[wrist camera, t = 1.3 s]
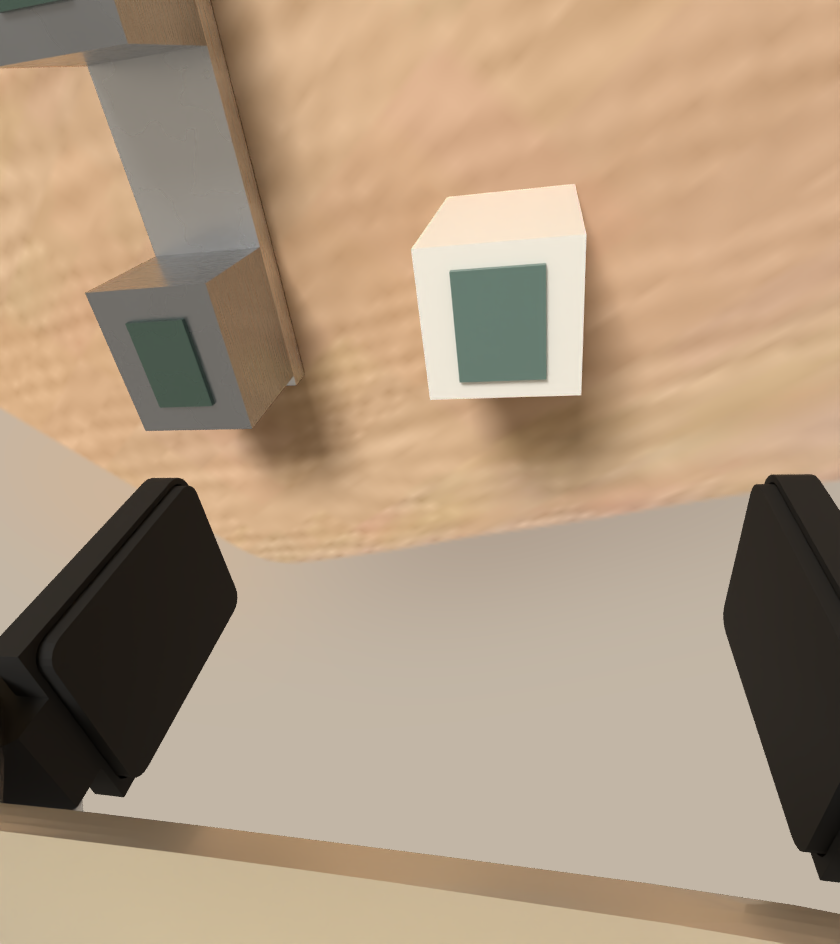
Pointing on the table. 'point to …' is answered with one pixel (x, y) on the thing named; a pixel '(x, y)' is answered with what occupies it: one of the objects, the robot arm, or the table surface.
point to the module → (503, 294)
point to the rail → (175, 209)
